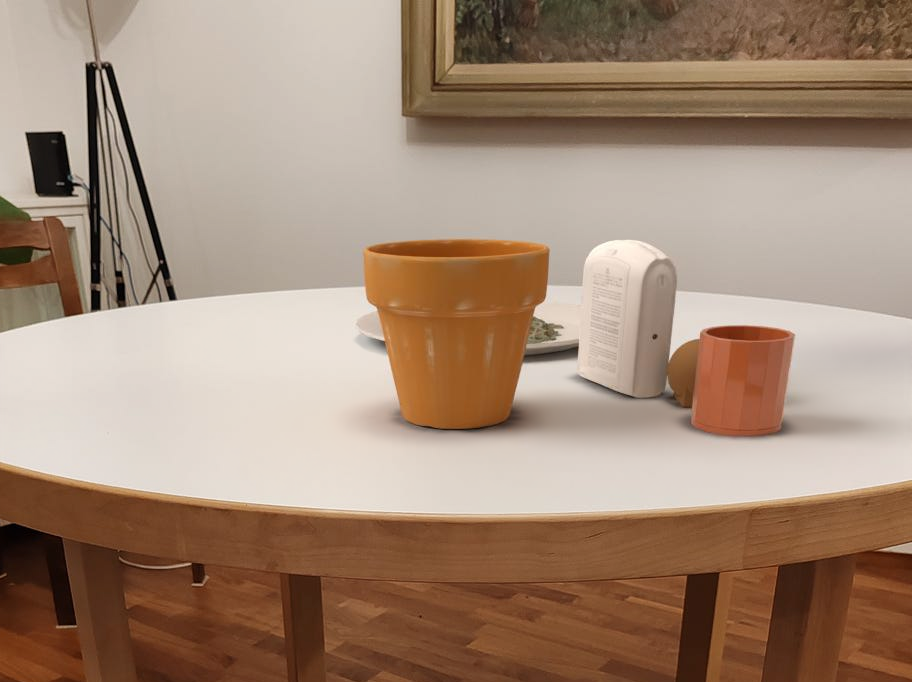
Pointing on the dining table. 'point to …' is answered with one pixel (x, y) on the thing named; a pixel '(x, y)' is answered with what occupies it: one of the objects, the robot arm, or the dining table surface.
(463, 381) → the flower pot
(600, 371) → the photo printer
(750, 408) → the pot
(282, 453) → the dining table surface
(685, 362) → the bread loaf
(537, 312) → the plated food
